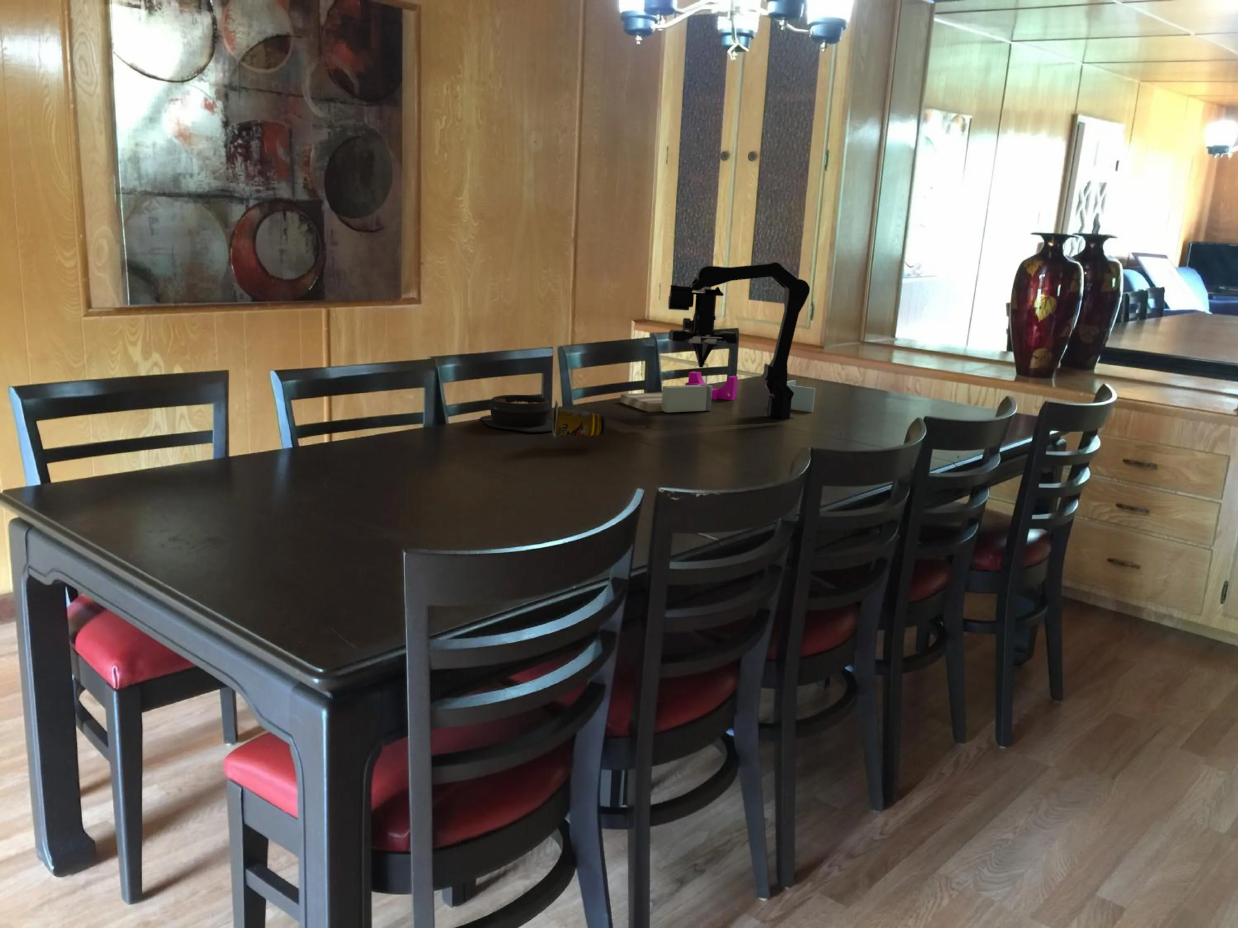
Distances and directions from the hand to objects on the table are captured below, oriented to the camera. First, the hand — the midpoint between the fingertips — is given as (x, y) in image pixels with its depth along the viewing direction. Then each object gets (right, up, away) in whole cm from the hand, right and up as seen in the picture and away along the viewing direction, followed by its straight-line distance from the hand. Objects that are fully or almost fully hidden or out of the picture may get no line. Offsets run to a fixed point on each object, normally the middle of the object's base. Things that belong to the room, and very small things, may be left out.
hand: (700, 367), depth 274 cm
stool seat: (-10, -10, +12) cm, 19 cm away
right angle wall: (+33, -11, +23) cm, 41 cm away
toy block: (+6, -7, +32) cm, 33 cm away
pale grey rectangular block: (-4, -12, +5) cm, 13 cm away
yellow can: (-39, -16, -40) cm, 58 cm away
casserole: (-50, -18, -15) cm, 55 cm away
